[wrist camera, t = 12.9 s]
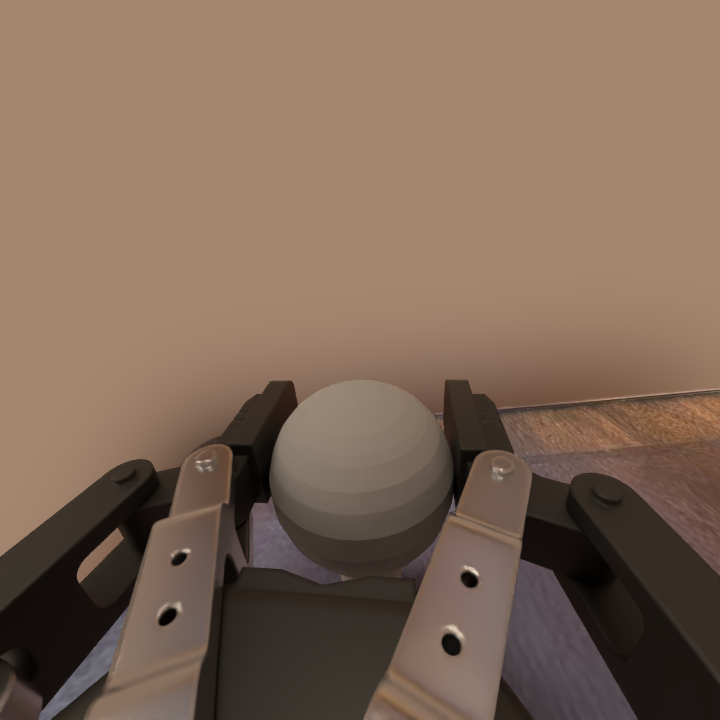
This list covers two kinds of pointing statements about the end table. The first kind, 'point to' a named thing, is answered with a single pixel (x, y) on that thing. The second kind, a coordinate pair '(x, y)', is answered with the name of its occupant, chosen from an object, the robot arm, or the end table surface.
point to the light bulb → (362, 478)
